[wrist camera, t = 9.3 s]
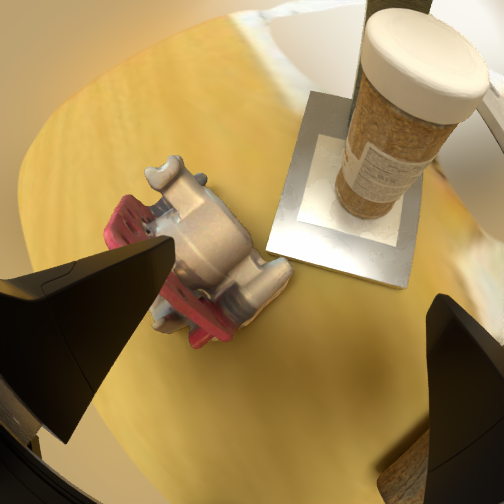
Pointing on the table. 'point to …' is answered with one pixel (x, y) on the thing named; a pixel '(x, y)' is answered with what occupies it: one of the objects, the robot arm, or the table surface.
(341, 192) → the sprinkles bottle
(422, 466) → the wooden log
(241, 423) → the table surface
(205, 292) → the brake caliper
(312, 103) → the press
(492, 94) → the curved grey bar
